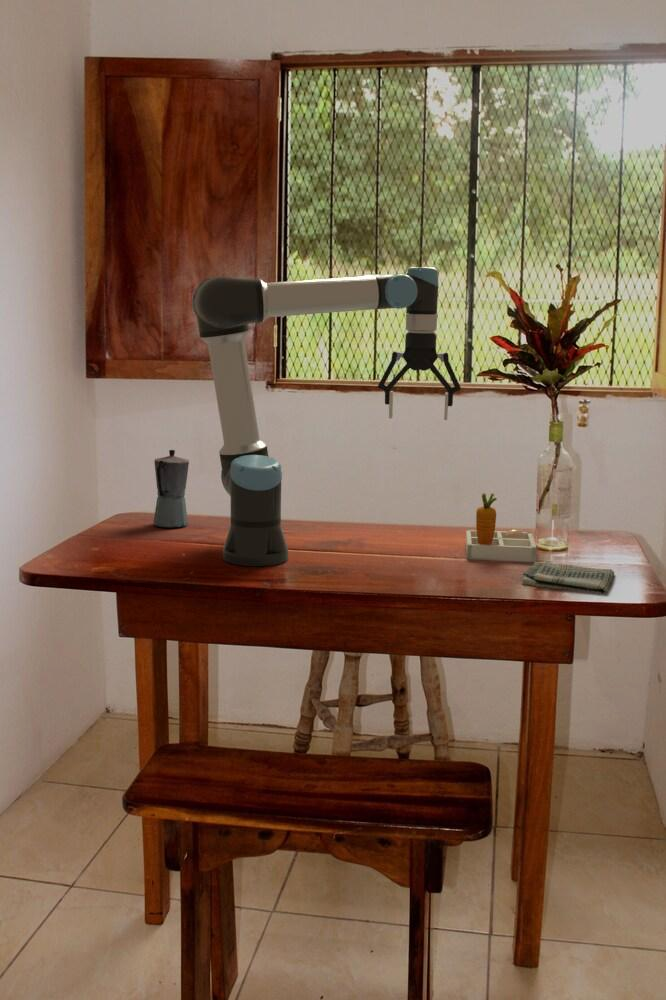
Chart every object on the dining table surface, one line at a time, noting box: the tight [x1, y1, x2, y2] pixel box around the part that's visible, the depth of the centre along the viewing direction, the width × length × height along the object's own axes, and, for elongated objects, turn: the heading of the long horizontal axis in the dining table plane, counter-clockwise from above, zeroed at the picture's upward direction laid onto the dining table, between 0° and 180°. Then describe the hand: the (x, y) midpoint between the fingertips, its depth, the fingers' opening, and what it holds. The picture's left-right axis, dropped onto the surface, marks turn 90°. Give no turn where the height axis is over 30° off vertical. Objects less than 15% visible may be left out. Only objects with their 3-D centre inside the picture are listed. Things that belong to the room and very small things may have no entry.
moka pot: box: [153, 449, 190, 528], centre depth 275 cm, size 10×15×20 cm, turn 170°
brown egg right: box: [505, 528, 524, 539], centre depth 258 cm, size 5×5×5 cm
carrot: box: [475, 492, 498, 545], centre depth 250 cm, size 5×5×15 cm
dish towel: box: [521, 560, 615, 595], centre depth 232 cm, size 19×18×3 cm
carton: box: [465, 529, 537, 563], centre depth 255 cm, size 16×16×4 cm
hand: (418, 418), depth 261 cm, fingers open, 13 cm apart
